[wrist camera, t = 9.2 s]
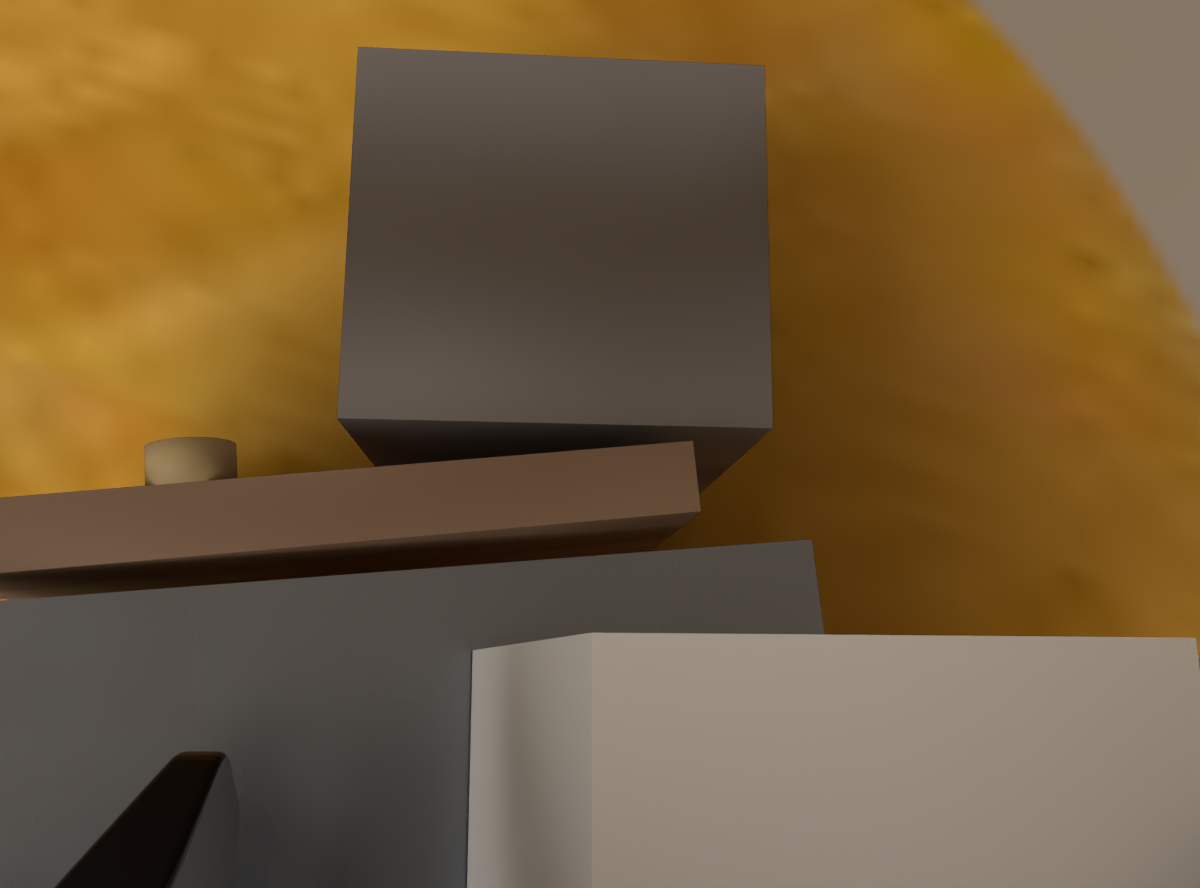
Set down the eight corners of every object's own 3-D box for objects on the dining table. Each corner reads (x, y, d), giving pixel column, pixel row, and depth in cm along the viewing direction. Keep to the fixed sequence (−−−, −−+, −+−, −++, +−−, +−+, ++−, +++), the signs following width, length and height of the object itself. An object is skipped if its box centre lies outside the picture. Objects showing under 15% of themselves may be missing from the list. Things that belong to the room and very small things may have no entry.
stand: (698, 495, 23) (772, 428, 16) (393, 489, 23) (336, 418, 16) (696, 231, 24) (764, 66, 17) (405, 221, 24) (357, 47, 17)
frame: (694, 1095, 21) (800, 1368, 13) (108, 1174, 20) (-168, 1523, 12) (631, 485, 23) (688, 397, 15) (101, 531, 22) (-135, 462, 14)
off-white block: (853, 1012, 15) (1269, 1283, 8) (463, 1046, 14) (592, 1394, 7) (837, 651, 16) (1195, 638, 9) (472, 650, 15) (592, 632, 8)
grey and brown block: (732, 986, 21) (891, 1108, 15) (19, 1122, 18) (-132, 1344, 12) (686, 573, 22) (814, 538, 16) (21, 627, 19) (-113, 608, 13)
